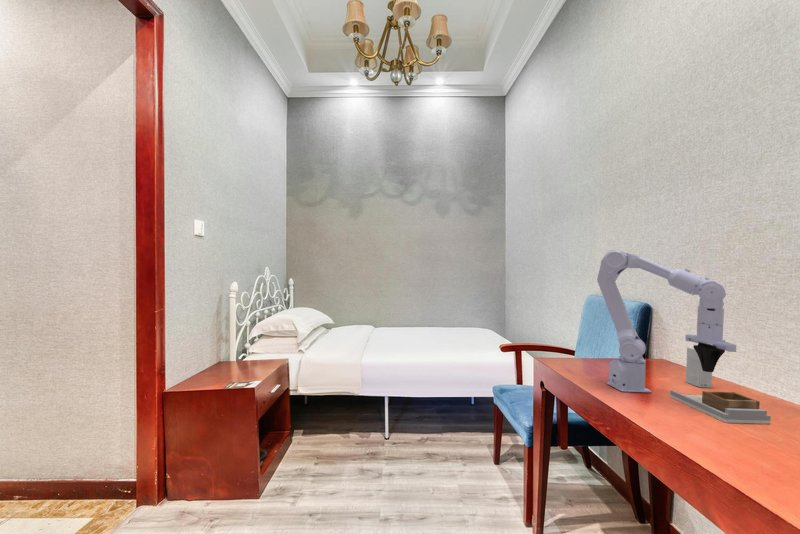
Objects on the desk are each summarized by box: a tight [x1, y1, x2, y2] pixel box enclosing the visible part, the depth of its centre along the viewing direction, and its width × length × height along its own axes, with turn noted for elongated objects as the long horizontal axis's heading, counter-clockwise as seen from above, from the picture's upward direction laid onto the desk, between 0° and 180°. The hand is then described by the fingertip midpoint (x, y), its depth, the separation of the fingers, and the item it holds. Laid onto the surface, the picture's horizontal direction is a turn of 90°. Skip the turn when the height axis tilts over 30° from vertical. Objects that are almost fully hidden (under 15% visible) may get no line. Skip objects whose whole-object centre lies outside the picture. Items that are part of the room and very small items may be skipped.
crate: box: [701, 390, 760, 413], centre depth 97 cm, size 9×7×4 cm
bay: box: [669, 389, 771, 425], centre depth 101 cm, size 12×18×3 cm, turn 2°
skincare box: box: [685, 346, 713, 389], centre depth 123 cm, size 6×4×12 cm
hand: (707, 371), depth 105 cm, fingers closed
